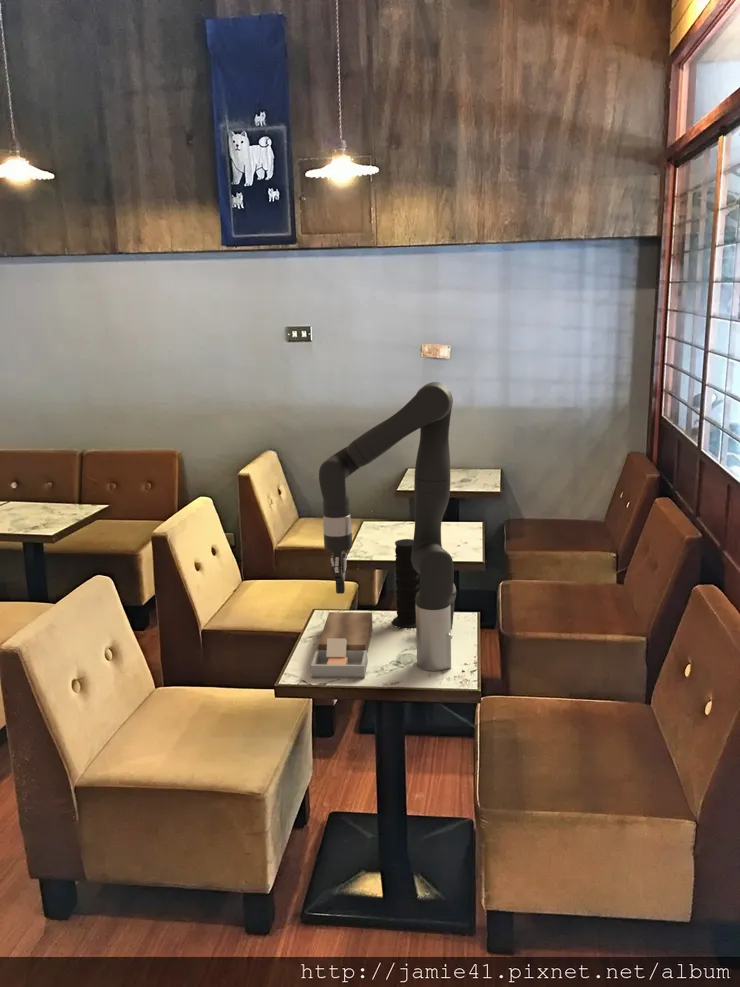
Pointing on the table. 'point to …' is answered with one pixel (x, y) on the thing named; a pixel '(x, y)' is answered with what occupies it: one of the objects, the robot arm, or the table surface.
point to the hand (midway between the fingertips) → (340, 592)
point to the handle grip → (405, 585)
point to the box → (352, 670)
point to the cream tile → (336, 647)
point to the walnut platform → (348, 629)
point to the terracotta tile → (337, 661)
